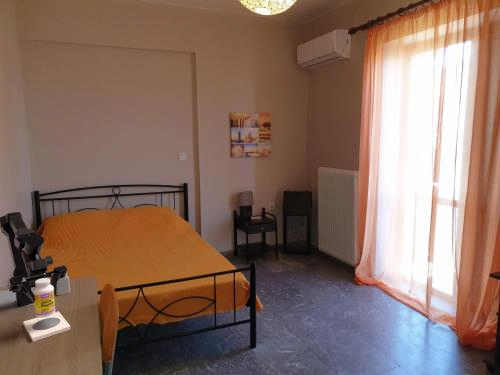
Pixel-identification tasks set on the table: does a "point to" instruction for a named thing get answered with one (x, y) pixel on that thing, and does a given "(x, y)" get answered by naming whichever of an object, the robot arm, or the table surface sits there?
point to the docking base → (46, 326)
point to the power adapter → (63, 285)
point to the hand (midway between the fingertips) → (45, 297)
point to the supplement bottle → (43, 298)
